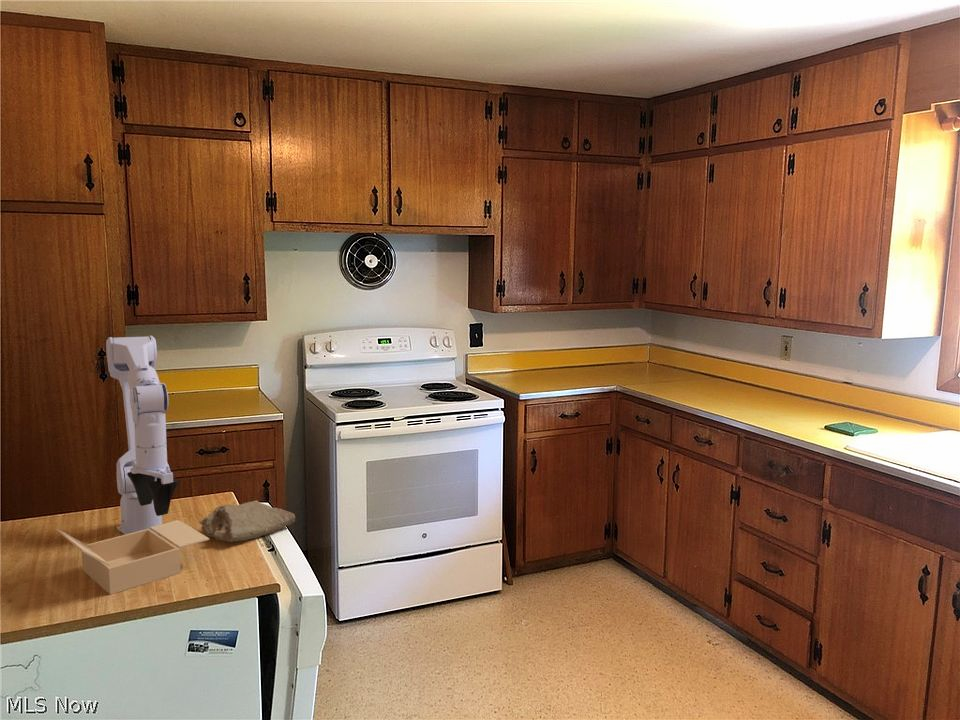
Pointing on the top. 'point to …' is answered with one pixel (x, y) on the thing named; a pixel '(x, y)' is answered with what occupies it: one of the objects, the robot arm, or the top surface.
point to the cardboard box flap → (82, 547)
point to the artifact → (245, 521)
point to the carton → (139, 556)
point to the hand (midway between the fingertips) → (153, 509)
